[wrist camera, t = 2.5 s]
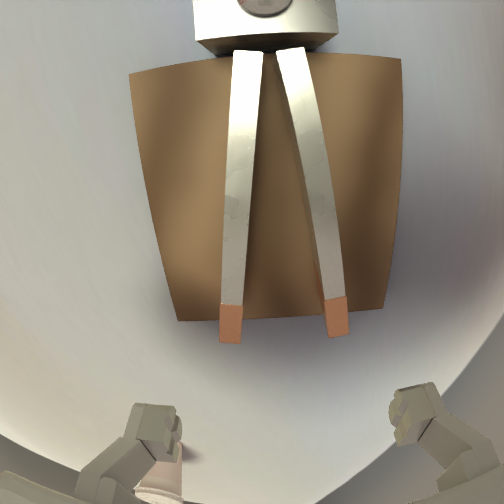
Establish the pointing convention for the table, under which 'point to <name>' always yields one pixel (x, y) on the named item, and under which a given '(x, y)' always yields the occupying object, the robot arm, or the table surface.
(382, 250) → the walnut board
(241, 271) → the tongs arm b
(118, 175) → the table surface
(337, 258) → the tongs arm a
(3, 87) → the table surface
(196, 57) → the table surface
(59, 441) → the table surface
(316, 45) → the pivot block
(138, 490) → the smoothie
